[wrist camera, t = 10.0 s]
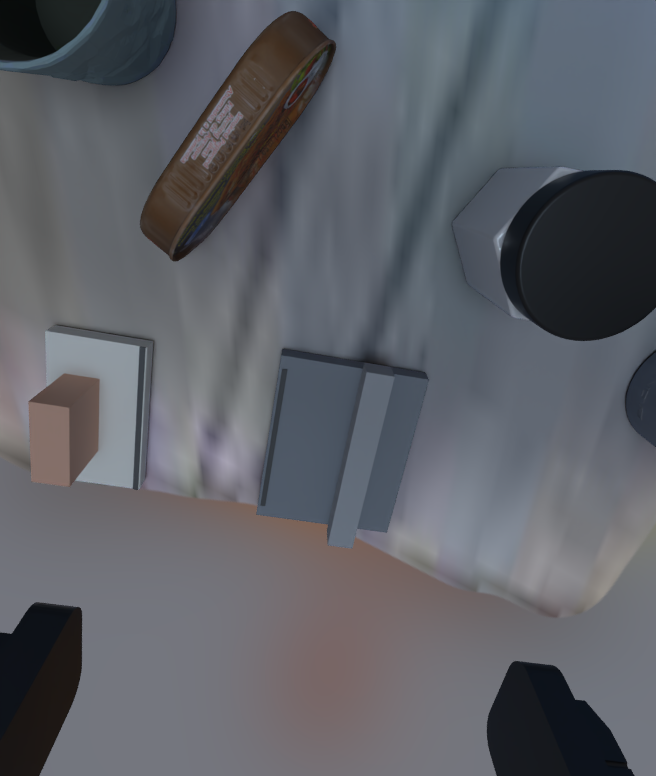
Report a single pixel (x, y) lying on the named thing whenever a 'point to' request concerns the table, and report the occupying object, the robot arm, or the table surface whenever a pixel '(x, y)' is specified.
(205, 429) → the table surface
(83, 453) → the white plate with block
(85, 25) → the blue pot
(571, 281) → the jar
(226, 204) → the tin
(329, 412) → the grey plate with ridge
